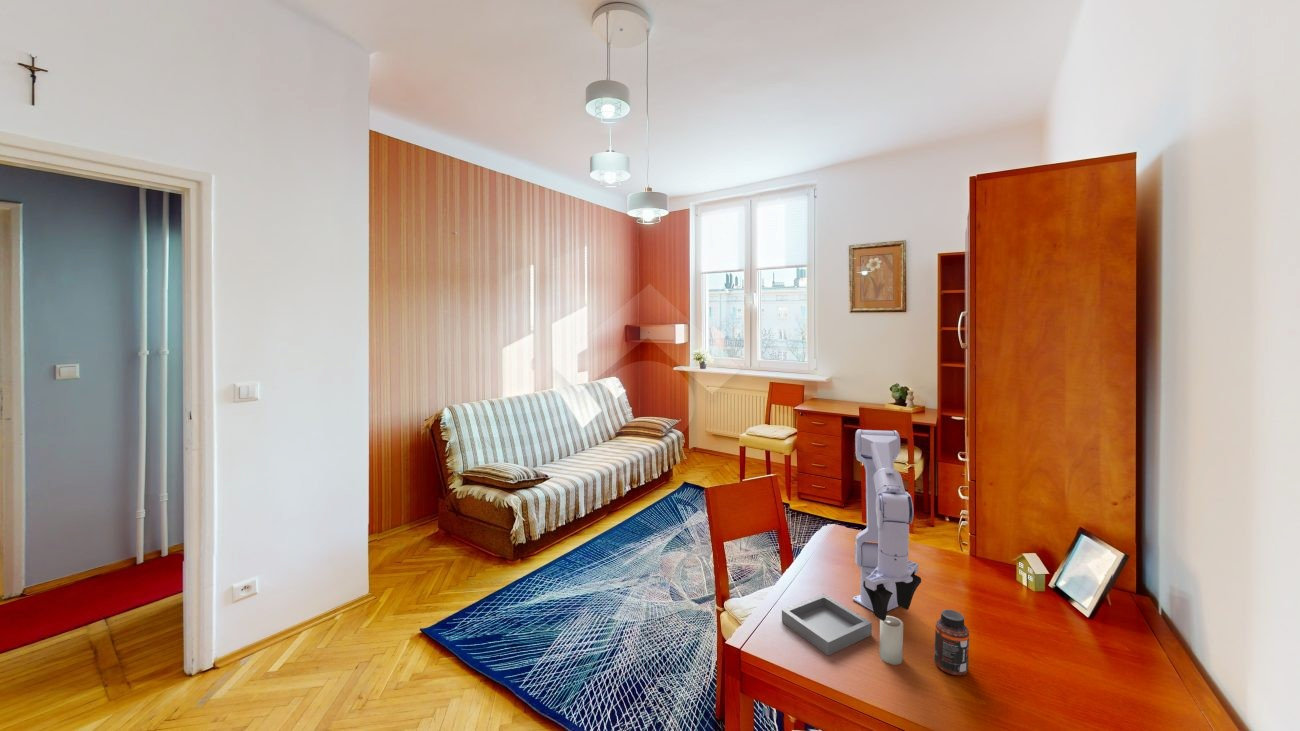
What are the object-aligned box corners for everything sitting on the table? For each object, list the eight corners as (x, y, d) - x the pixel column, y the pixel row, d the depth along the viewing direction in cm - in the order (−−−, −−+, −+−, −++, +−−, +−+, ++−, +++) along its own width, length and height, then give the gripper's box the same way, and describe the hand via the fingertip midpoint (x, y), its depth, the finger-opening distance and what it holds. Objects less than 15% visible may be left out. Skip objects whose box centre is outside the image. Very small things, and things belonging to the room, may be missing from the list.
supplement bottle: (973, 679, 98) (975, 625, 97) (940, 675, 99) (942, 621, 98) (960, 659, 104) (962, 607, 103) (930, 655, 105) (931, 605, 104)
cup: (888, 648, 108) (888, 613, 107) (906, 660, 104) (907, 623, 103) (874, 655, 106) (875, 619, 105) (893, 667, 102) (894, 630, 101)
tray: (823, 605, 125) (823, 593, 125) (871, 635, 113) (871, 622, 112) (781, 621, 118) (781, 609, 118) (828, 655, 106) (828, 642, 106)
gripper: (887, 567, 96) (886, 633, 97) (932, 549, 103) (931, 612, 104) (857, 552, 102) (856, 615, 103) (901, 537, 109) (900, 596, 110)
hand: (891, 612), depth 104 cm, fingers open, 7 cm apart
